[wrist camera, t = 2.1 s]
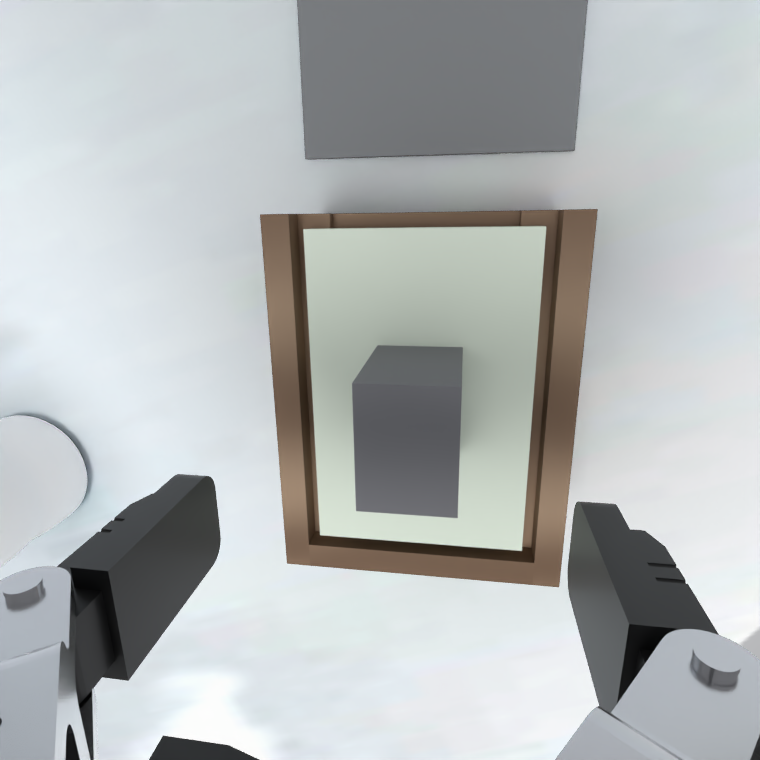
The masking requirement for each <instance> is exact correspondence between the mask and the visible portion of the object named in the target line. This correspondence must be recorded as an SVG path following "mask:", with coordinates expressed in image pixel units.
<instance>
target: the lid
mask: <svg viewBox="0 0 760 760" xmlns="http://www.w3.org/2000/svg"><path fill="white" fill-rule="evenodd" d="M303 233H304V251H305V269H306V288H307V306H308V324H309V342H310V361H311V379H312V397H313V415H314V434H315V452H316V470H317V488H318V507H319V525H320V535H324V536H337V537H350V538H363V539H375V540H388V541H401V542H414V543H427V544H439V545H452V546H465V547H478V548H491V549H503V550H516V551H522V542H523V529H524V516H525V503H526V490H527V476H528V463H529V450H530V437H531V423H532V410H533V397H534V384H535V371H536V357H537V344H538V331H539V318H540V304H541V291H542V278H543V265H544V252H545V238H546V226H491V227H404V228H317V229H303Z"/></svg>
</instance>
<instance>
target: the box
mask: <svg viewBox="0 0 760 760" xmlns="http://www.w3.org/2000/svg"><path fill="white" fill-rule="evenodd" d="M597 210H598V209H581V210H530V211H472V212H408V213H344V214H265V215H260V220H261V233H262V246H263V258H264V271H265V284H266V297H267V310H268V323H269V336H270V349H271V362H272V375H273V388H274V401H275V413H276V426H277V439H278V452H279V465H280V478H281V491H282V504H283V517H284V530H285V543H286V556H287V564H299V565H310V566H322V567H333V568H345V569H356V570H368V571H379V572H391V573H402V574H414V575H425V576H437V577H448V578H460V579H471V580H482V581H494V582H505V583H517V584H528V585H540V586H551V587H559V582H560V572H561V563H562V553H563V543H564V533H565V523H566V514H567V504H568V494H569V484H570V474H571V465H572V455H573V445H574V435H575V426H576V416H577V406H578V396H579V386H580V377H581V367H582V357H583V347H584V337H585V328H586V318H587V308H588V298H589V288H590V279H591V269H592V259H593V249H594V239H595V230H596V220H597ZM491 226H546V238H545V252H544V265H543V278H542V291H541V304H540V318H539V331H538V344H537V357H536V371H535V384H534V397H533V410H532V423H531V437H530V450H529V463H528V476H527V490H526V503H525V516H524V529H523V542H522V551H516V550H503V549H491V548H478V547H465V546H452V545H439V544H427V543H414V542H401V541H388V540H375V539H363V538H350V537H337V536H324V535H320V525H319V507H318V488H317V470H316V452H315V434H314V415H313V397H312V379H311V361H310V342H309V324H308V306H307V288H306V269H305V251H304V233H303V229H317V228H404V227H491Z"/></svg>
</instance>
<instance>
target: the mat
mask: <svg viewBox="0 0 760 760" xmlns="http://www.w3.org/2000/svg"><path fill="white" fill-rule="evenodd" d="M587 2H588V0H297V7H298V26H299V45H300V65H301V84H302V103H303V123H304V142H305V159H334V158H366V157H397V156H429V155H460V154H492V153H523V152H555V151H574V150H575V139H576V128H577V116H578V105H579V93H580V82H581V70H582V59H583V48H584V36H585V25H586V13H587Z"/></svg>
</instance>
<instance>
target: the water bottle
mask: <svg viewBox="0 0 760 760" xmlns="http://www.w3.org/2000/svg"><path fill="white" fill-rule="evenodd" d="M86 489H87V472H86V467H85V464H84V461H83V458H82V456H81V454H80V452H79V450H78V449H77V447H76V446H75V444H74V443H73V442H72V441H71V440H70V438H69V437H68V436H67V435H66V434H64V433H63V432H62V431H61V430H60V429H58V428H57V427H55V426H54V425H52V424H50V423H48V422H46V421H44V420H41V419H38V418H35V417H31V416H19V415H17V416H10V417H5V418H2V419H0V567H2V566H3V565H4V564H6V563H7V562H8V561H10V560H11V559H12V558H13V557H15V556H16V555H17V554H18V553H19V552H20V551H21V550H22V549H24V548H25V547H26V545H27V544H28V543H29V542H30V541H31V540H33V539H35V538H37V537H39V536H41V535H42V534H44V533H46V532H47V531H49V530H50V529H52V528H53V527H55V526H56V525H58V524H59V523H60V522H62V521H63V520H65V519H66V518H67V517H68V516H70V515H71V514H72V513H73V512H74V511H75V510H76V509H77V508H78V507H79V505H80V504H81V502H82V501H83V499H84V496H85V493H86Z"/></svg>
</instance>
